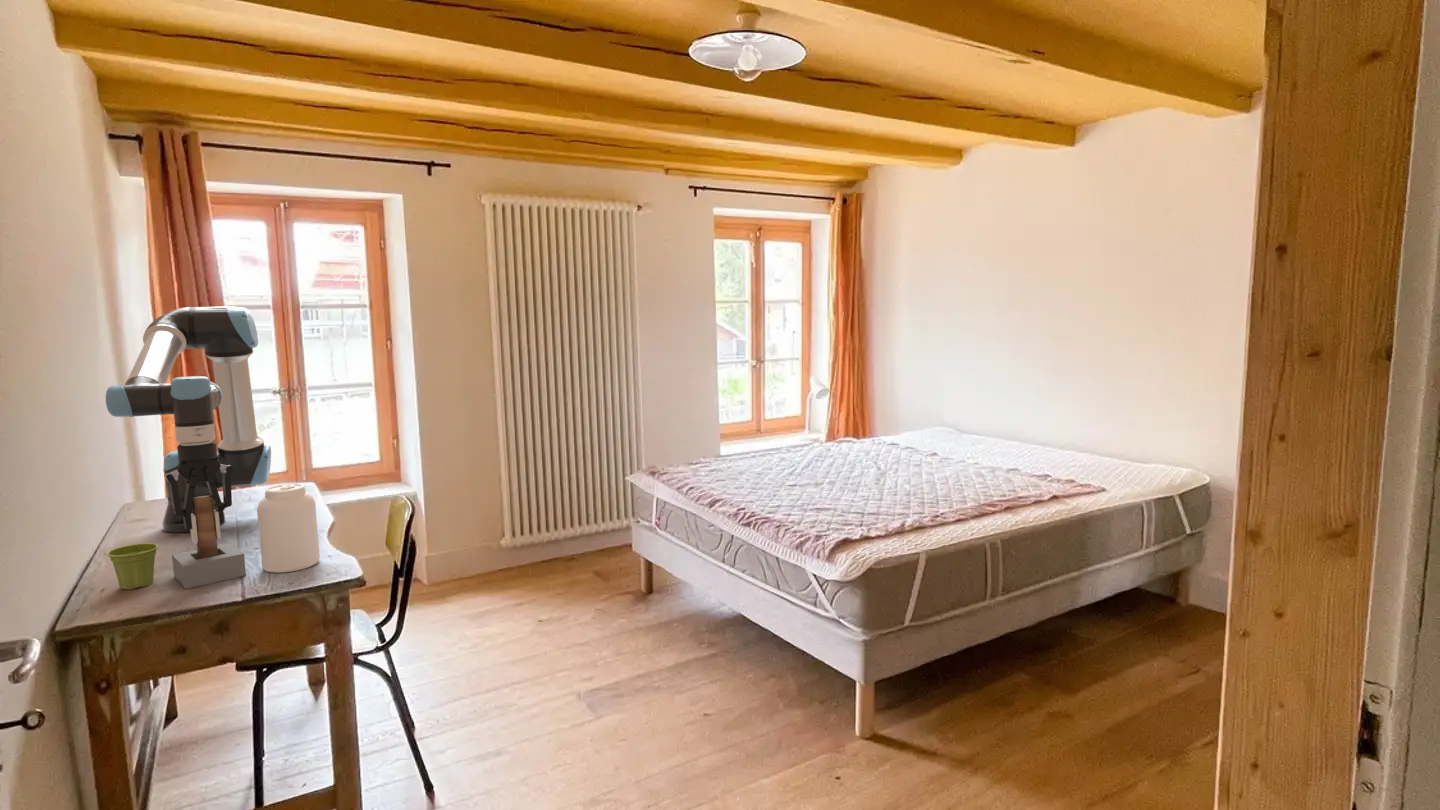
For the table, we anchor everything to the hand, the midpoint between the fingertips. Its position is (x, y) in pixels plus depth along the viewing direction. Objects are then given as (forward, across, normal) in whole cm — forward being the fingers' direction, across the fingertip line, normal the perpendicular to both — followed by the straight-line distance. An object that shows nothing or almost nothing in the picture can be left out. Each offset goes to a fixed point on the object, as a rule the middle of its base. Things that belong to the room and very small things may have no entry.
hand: (206, 539), depth 179 cm
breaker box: (+9, 0, 0) cm, 9 cm away
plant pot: (+9, -13, +6) cm, 17 cm away
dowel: (+6, 0, 0) cm, 6 cm away
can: (+9, +16, -6) cm, 19 cm away
